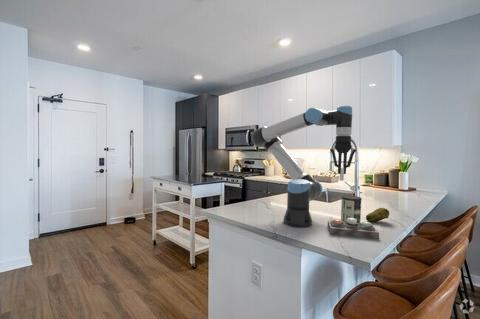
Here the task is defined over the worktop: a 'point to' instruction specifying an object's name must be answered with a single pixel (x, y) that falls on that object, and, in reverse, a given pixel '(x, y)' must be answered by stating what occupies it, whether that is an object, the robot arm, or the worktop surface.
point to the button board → (353, 230)
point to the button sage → (366, 224)
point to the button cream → (351, 220)
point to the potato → (377, 215)
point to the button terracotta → (337, 221)
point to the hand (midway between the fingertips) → (341, 180)
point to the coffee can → (351, 208)
